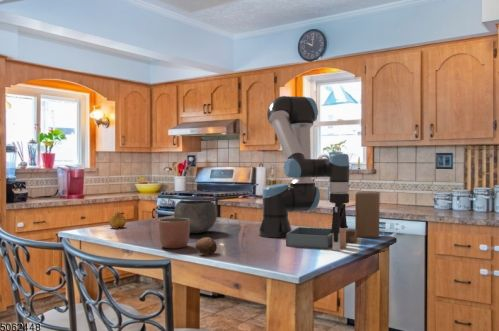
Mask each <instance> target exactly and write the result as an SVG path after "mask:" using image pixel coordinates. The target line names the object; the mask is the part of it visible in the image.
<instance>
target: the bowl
mask: <svg viewBox="0 0 499 331" xmlns="http://www.w3.org/2000/svg"><path fill="white" fill-rule="evenodd" d="M217 217H218V210H217V207H216V204H215V202H214V201H212V200H206V199H201V200H200V199H199V200H198V199H197V200H195V199H194V200H192V199H191V200H190V199H189V200H180V201H178V202H177V203H176V204H175V207H174V210H173V218H187V219H190V231H189V234H203V233H205V232H207V231H209V230H210V229H212V227H213V226H214V225H215V223H216V221H217Z"/></svg>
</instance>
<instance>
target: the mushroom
mask: <svg viewBox="0 0 499 331" xmlns="http://www.w3.org/2000/svg"><path fill="white" fill-rule="evenodd" d="M217 248H218V246H217V243H216V241H215V240H214V239H213V238H211V237H207V236H206V237H202V238H200V239H199V240H197V242H195V249H196V251H197V252H198V253H199V254H202V255H205V256H209V255H213V254H215V253H216V251H217Z"/></svg>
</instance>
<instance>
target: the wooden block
mask: <svg viewBox="0 0 499 331" xmlns="http://www.w3.org/2000/svg"><path fill="white" fill-rule="evenodd" d="M354 196H355V199H354V200H355V201H354V202H355V203H354V204H355V205H354V207H355V209H354V210H355V211H354V213H355V214H354V216H355V217H354V218H355V221H354V223H355V225H354V226H355V228H354V230H357V238H365V239H367V238H369V239H370V238H371V239H378V238H379V235H380V192H378V191H359V190H358V191H357V192H356V193H355V194H354Z"/></svg>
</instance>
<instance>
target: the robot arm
mask: <svg viewBox="0 0 499 331" xmlns="http://www.w3.org/2000/svg"><path fill="white" fill-rule="evenodd" d="M318 116H319V110H318V105H317V103H316V101H315V99H314V98H312V97H308V96H307V97H306V96H289V95H287V96H286V95H282V96H279V97H276V98H275V99H273V100H272V101H271V103H270V104H269V106H268V108H267V120H268V122H269V125H270V126H271V127H273V130H274V132H275V134H276V137H277V140H278V142H279V144H280V147H281V150H282V153H283V155H284V158H285V161H284V164H283V170H284V174H285V176H286V177H287V178H292V180H291V181H290V183H289V185H288V183H277V184H271V185H266V186H264V188H263V190H262V197H261V198H262V220H261V223H260V226H259V229H258V235H259V236H260V237H265V238H286V233H288V232H290V231H292V230H293V229H292V226H291V224H290V221H289V213H292V212H293V213H294V212H311V211H315V210H316V209H317V208H318V206H319V203H320V199H321V192H320V189H319V187H318V186H316V183H315V181H314V180H313V178H329V192H330V193H329V203H330V204H334V206H333V207H332V217H331V218H332V221H331V229H332V230H331V231H330V233H333V245H332V251H339V252H340V251H341V249H340V233H339V231H340V229H345V230H346V229H348V228H349V226H348V225H347V224H348V223H347V213H346V206H347V205H346V204H348V203H350V193H349V191H350V187H351V184H349V183H350V182H349V181H350V157H349V154H347V153H331V154H329V158H312V157H311V156H312V151H311V148H312V147H311V145H312V144H311V128H312V127H313V126H314V122H316V121H317V118H318Z"/></svg>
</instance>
